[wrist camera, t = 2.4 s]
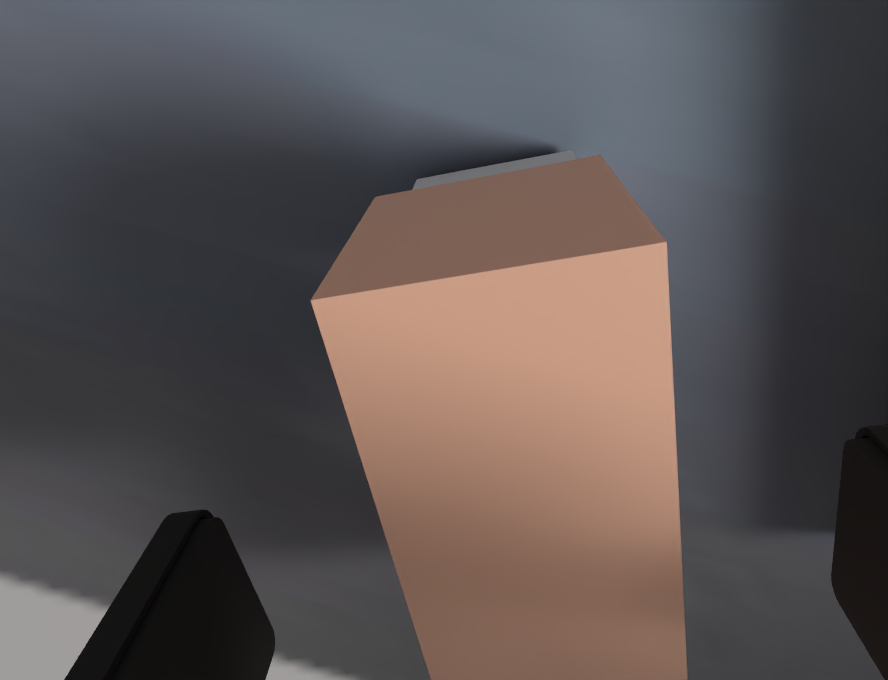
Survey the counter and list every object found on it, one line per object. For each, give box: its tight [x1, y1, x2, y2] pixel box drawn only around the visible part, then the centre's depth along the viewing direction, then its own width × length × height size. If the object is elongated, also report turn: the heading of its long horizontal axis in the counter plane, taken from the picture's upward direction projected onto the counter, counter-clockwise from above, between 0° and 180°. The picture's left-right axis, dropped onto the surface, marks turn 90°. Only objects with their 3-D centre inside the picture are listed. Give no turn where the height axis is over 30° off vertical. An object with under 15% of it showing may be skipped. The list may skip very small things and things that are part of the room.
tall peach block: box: [311, 150, 688, 680], centre depth 11 cm, size 11×3×8 cm, turn 11°
